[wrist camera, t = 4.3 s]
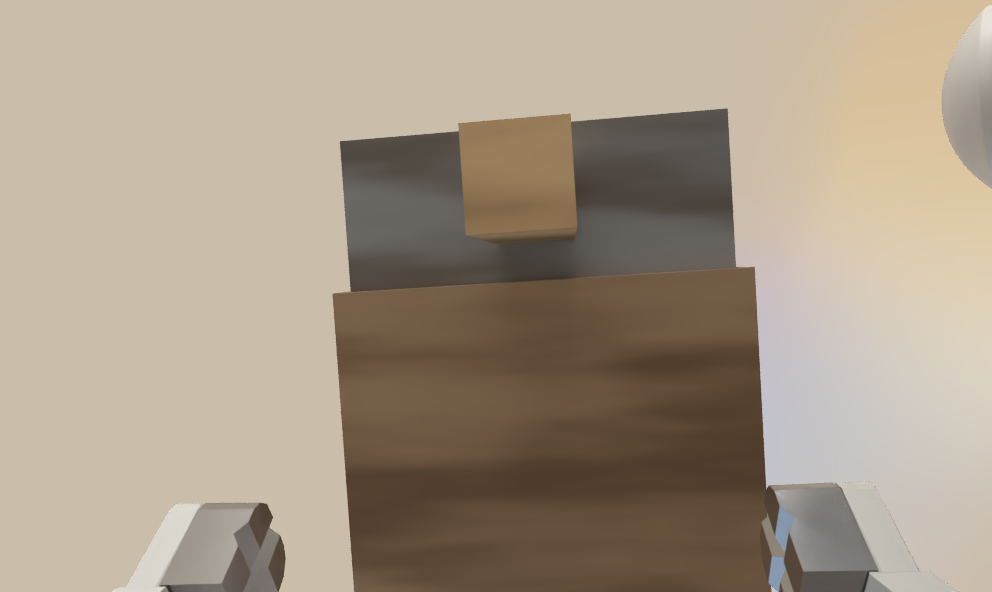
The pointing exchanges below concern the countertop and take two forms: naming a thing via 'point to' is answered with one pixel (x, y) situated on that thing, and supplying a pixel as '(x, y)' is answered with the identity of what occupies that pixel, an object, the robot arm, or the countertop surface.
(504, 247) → the t bar
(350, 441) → the post
